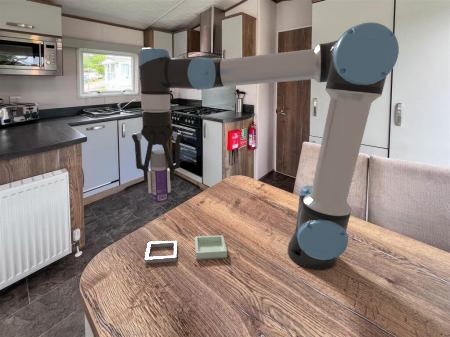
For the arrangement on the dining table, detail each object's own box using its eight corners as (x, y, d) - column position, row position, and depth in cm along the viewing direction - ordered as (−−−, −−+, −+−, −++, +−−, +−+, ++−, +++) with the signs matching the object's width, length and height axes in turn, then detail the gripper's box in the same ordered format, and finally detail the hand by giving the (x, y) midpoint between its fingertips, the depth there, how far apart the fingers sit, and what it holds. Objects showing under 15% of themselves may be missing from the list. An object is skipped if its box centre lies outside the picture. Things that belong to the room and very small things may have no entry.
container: (170, 198, 86) (168, 150, 82) (165, 204, 81) (163, 154, 77) (155, 197, 86) (152, 149, 82) (149, 203, 82) (147, 153, 78)
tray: (222, 241, 97) (222, 235, 96) (226, 258, 88) (227, 251, 87) (194, 243, 96) (194, 236, 95) (196, 260, 87) (196, 252, 86)
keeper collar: (176, 244, 94) (176, 240, 94) (176, 261, 86) (176, 257, 85) (148, 246, 93) (148, 242, 92) (145, 263, 84) (144, 259, 84)
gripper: (188, 109, 81) (189, 185, 88) (124, 108, 78) (130, 187, 85) (189, 112, 74) (190, 194, 81) (119, 111, 71) (126, 197, 78)
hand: (159, 190), depth 83 cm, fingers closed on container, 5 cm apart
